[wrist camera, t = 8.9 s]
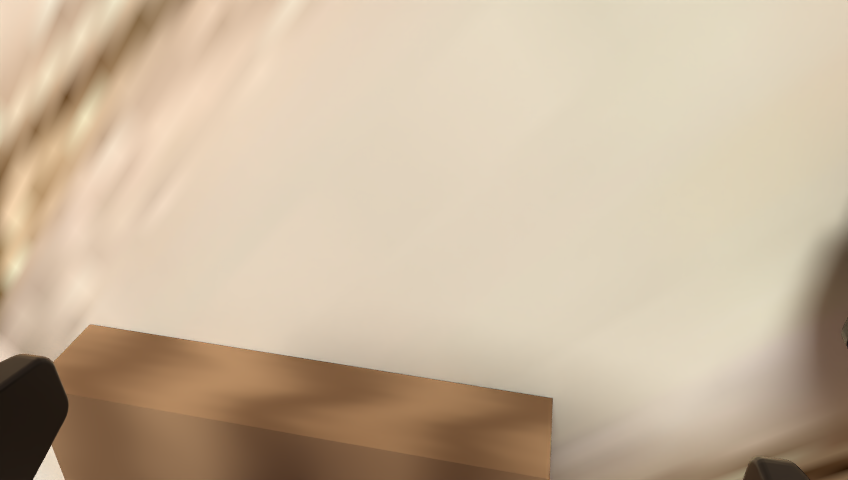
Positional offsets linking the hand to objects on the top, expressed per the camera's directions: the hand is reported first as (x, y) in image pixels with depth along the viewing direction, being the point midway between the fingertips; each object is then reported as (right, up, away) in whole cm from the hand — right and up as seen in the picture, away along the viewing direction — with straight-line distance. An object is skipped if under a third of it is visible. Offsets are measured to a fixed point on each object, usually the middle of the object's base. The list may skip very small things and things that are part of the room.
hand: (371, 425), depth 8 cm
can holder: (-4, -10, +21) cm, 24 cm away
